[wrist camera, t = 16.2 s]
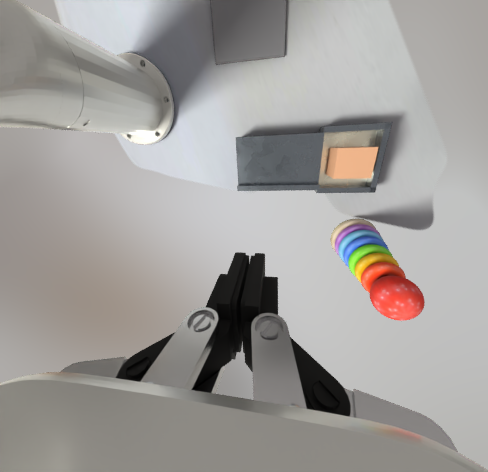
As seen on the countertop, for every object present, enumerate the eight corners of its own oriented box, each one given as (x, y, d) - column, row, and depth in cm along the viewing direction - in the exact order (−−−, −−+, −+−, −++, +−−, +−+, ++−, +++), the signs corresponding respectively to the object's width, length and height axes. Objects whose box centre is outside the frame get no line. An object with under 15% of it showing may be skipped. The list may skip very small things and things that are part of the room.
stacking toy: (345, 210, 35) (408, 270, 18) (384, 228, 35) (479, 303, 19) (321, 244, 39) (355, 320, 22) (356, 260, 39) (415, 347, 22)
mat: (216, 64, 29) (215, 63, 29) (210, -13, 25) (209, -16, 25) (284, 56, 27) (284, 55, 27) (287, -28, 24) (287, -30, 24)
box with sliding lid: (242, 189, 36) (237, 195, 32) (239, 132, 32) (234, 131, 28) (366, 188, 33) (379, 194, 29) (381, 124, 29) (398, 121, 25)
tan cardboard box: (333, 178, 28) (371, 178, 27) (338, 148, 26) (378, 146, 25) (325, 173, 32) (357, 173, 31) (329, 147, 30) (363, 146, 30)
